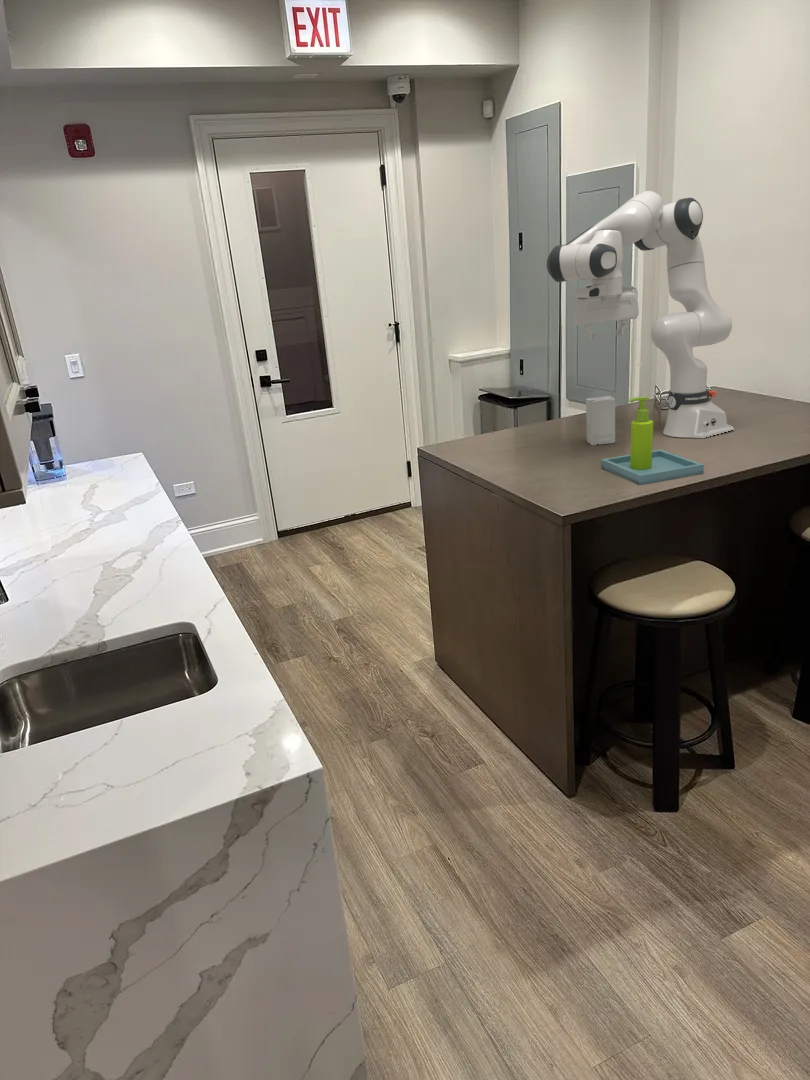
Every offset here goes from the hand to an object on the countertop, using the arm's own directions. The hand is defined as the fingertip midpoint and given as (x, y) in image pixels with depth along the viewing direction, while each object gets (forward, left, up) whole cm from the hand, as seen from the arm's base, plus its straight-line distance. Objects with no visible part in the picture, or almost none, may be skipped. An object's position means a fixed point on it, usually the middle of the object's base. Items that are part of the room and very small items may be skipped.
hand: (605, 337), depth 220 cm
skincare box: (-5, -11, -35) cm, 37 cm away
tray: (0, +25, -35) cm, 43 cm away
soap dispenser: (+2, +23, -34) cm, 41 cm away
